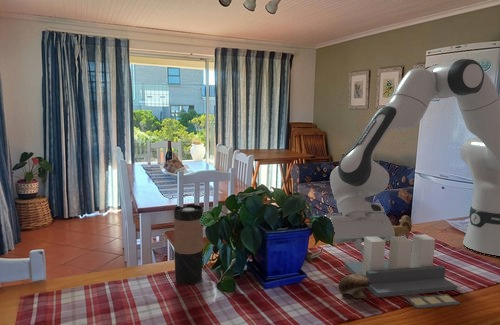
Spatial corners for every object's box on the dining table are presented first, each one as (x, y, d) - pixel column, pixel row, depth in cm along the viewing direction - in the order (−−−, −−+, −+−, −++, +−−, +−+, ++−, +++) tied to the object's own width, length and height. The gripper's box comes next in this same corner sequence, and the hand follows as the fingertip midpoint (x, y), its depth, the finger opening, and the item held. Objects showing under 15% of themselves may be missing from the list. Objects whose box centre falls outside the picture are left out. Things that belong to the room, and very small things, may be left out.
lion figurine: (399, 235, 133) (401, 213, 131) (413, 239, 129) (415, 216, 128) (382, 245, 122) (383, 220, 121) (397, 249, 119) (399, 224, 117)
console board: (412, 261, 108) (413, 249, 108) (456, 290, 91) (458, 275, 90) (344, 266, 104) (345, 253, 103) (377, 297, 86) (378, 281, 86)
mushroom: (378, 294, 82) (366, 268, 84) (346, 305, 82) (335, 279, 85) (373, 294, 89) (363, 270, 91) (344, 304, 89) (334, 280, 92)
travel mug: (197, 287, 90) (197, 212, 87) (169, 283, 91) (168, 210, 88) (206, 274, 97) (206, 205, 94) (181, 271, 98) (180, 203, 96)
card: (446, 295, 88) (447, 293, 88) (460, 304, 84) (460, 302, 84) (405, 298, 86) (405, 297, 86) (416, 308, 82) (417, 307, 82)
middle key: (400, 269, 99) (403, 236, 98) (409, 275, 95) (412, 241, 94) (387, 270, 98) (390, 236, 97) (396, 276, 94) (399, 241, 93)
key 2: (422, 267, 101) (425, 234, 100) (431, 273, 97) (435, 239, 96) (410, 267, 100) (413, 234, 99) (419, 274, 96) (422, 239, 95)
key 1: (374, 269, 99) (377, 236, 97) (382, 276, 95) (385, 241, 93) (362, 270, 98) (364, 236, 96) (369, 277, 94) (372, 242, 93)
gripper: (325, 208, 102) (338, 252, 94) (387, 206, 106) (405, 248, 98) (319, 218, 107) (330, 261, 99) (378, 216, 111) (394, 257, 103)
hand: (368, 255), depth 98 cm, fingers closed, pressing on key 1
